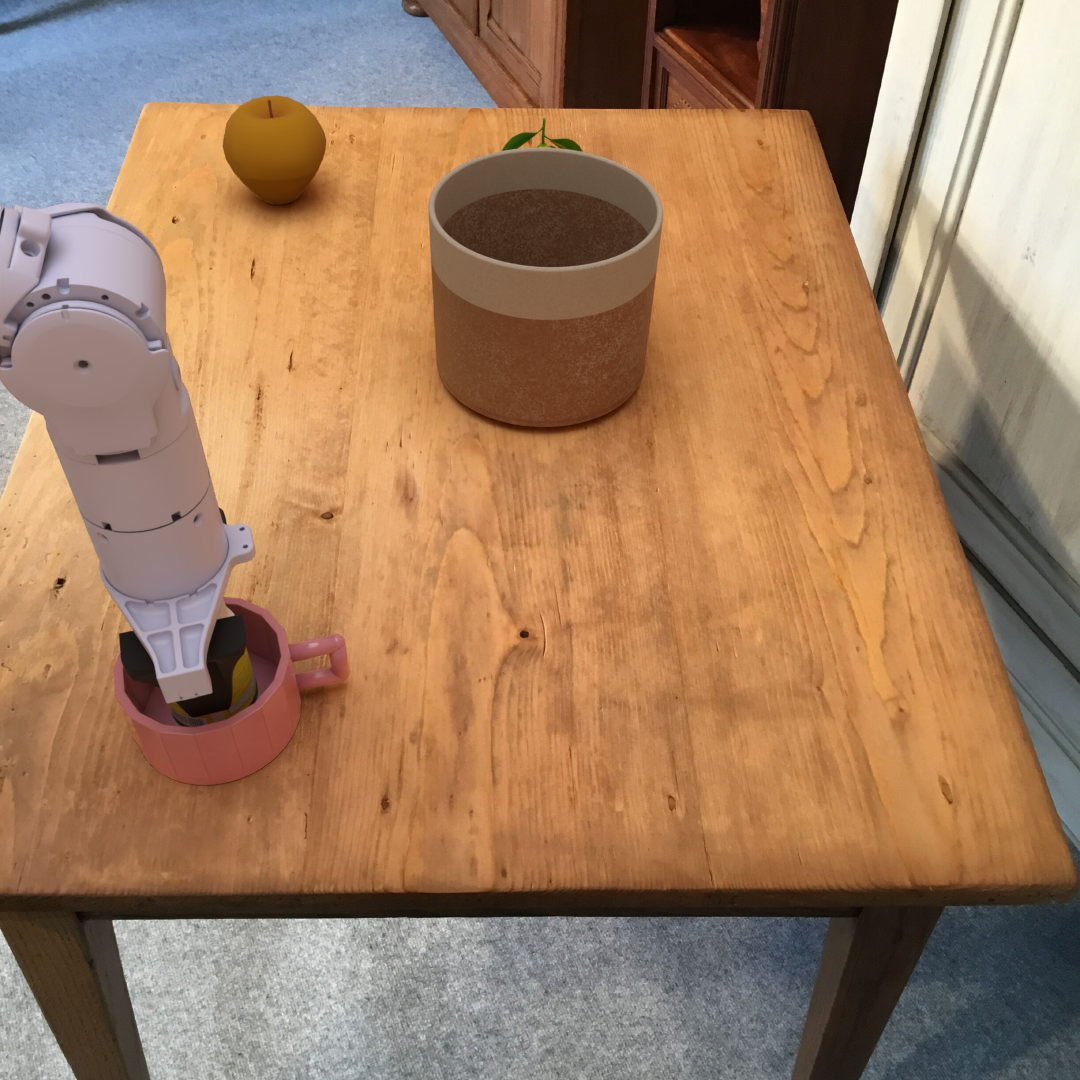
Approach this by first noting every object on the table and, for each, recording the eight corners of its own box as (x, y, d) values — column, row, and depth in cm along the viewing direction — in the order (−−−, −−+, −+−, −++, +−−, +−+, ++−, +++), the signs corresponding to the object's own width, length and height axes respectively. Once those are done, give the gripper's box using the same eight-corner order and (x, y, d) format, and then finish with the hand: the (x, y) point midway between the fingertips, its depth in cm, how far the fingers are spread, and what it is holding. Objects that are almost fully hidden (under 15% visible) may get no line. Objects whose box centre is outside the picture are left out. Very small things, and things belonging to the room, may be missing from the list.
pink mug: (143, 804, 57) (118, 753, 53) (131, 671, 63) (109, 616, 59) (368, 747, 60) (359, 695, 56) (337, 624, 66) (328, 570, 62)
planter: (651, 317, 88) (671, 158, 78) (633, 447, 77) (654, 282, 67) (459, 296, 89) (454, 136, 79) (415, 420, 79) (403, 254, 68)
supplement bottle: (250, 659, 62) (223, 560, 56) (267, 724, 59) (240, 627, 53) (165, 682, 61) (127, 585, 55) (178, 750, 58) (139, 655, 52)
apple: (338, 218, 97) (326, 121, 90) (235, 228, 95) (216, 130, 89) (327, 168, 103) (316, 74, 96) (231, 176, 101) (212, 81, 95)
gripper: (258, 586, 44) (302, 763, 54) (217, 371, 53) (261, 556, 63) (76, 625, 43) (156, 800, 53) (66, 397, 52) (136, 582, 62)
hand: (204, 669), depth 58 cm, fingers closed on supplement bottle, 5 cm apart
